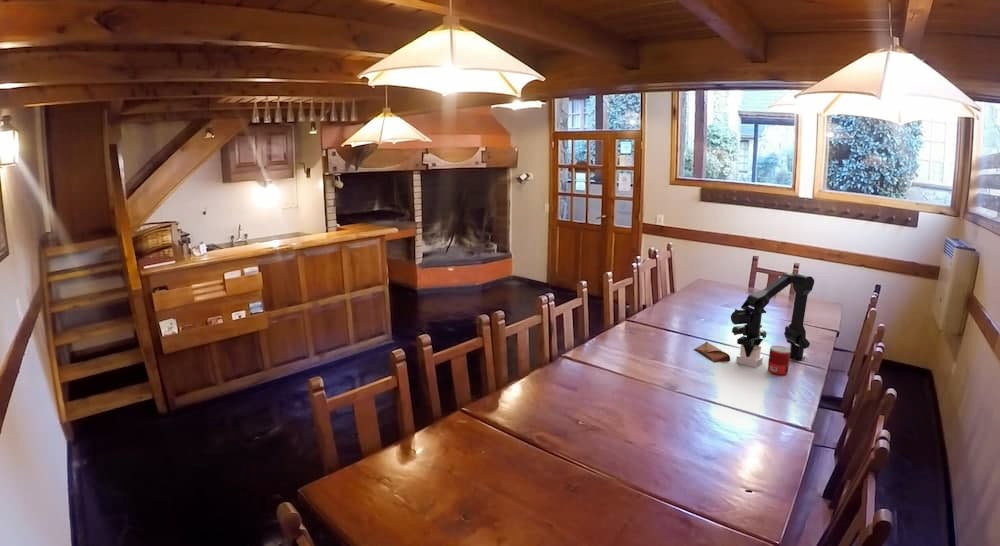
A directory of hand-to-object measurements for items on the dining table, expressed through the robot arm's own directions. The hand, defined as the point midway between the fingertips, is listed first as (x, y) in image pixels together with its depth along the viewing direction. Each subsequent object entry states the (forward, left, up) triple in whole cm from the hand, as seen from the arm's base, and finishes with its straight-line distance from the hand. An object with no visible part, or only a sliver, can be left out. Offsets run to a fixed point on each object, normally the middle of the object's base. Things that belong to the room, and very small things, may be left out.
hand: (749, 355), depth 267 cm
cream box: (0, 0, -1) cm, 1 cm away
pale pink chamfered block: (0, 0, -4) cm, 4 cm away
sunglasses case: (+3, -17, -4) cm, 18 cm away
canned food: (+2, +13, -4) cm, 14 cm away
